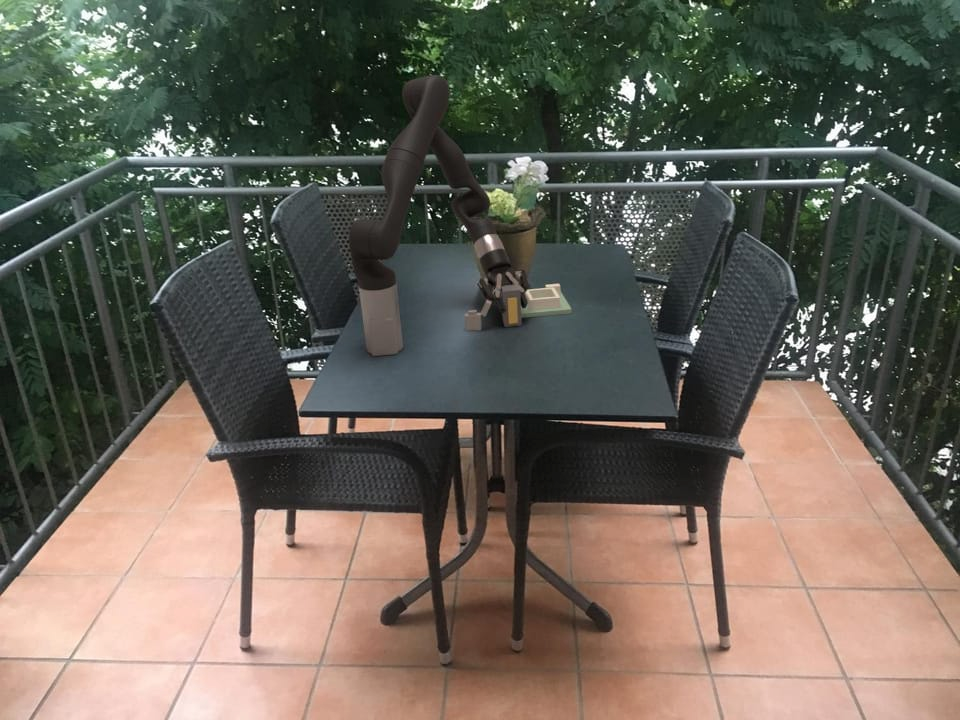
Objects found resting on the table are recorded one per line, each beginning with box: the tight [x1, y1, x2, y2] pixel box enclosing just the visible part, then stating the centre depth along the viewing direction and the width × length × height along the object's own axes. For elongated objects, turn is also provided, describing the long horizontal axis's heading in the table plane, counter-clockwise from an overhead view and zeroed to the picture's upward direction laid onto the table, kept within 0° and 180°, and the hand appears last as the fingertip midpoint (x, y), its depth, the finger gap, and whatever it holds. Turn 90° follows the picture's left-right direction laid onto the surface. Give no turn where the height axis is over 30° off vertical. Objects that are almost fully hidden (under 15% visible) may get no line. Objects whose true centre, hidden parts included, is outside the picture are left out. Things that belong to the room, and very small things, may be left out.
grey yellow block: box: [500, 284, 523, 328], centre depth 205 cm, size 5×4×10 cm
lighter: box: [464, 299, 492, 332], centre depth 203 cm, size 7×2×8 cm, turn 88°
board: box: [521, 283, 573, 319], centre depth 217 cm, size 16×14×4 cm
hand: (514, 309), depth 204 cm, fingers closed on grey yellow block, 5 cm apart
